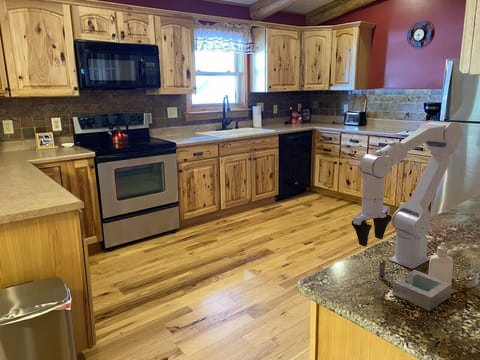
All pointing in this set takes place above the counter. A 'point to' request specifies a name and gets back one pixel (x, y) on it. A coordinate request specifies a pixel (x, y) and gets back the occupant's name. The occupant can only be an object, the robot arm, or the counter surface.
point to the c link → (427, 300)
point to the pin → (382, 268)
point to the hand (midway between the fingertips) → (370, 241)
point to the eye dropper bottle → (441, 264)
